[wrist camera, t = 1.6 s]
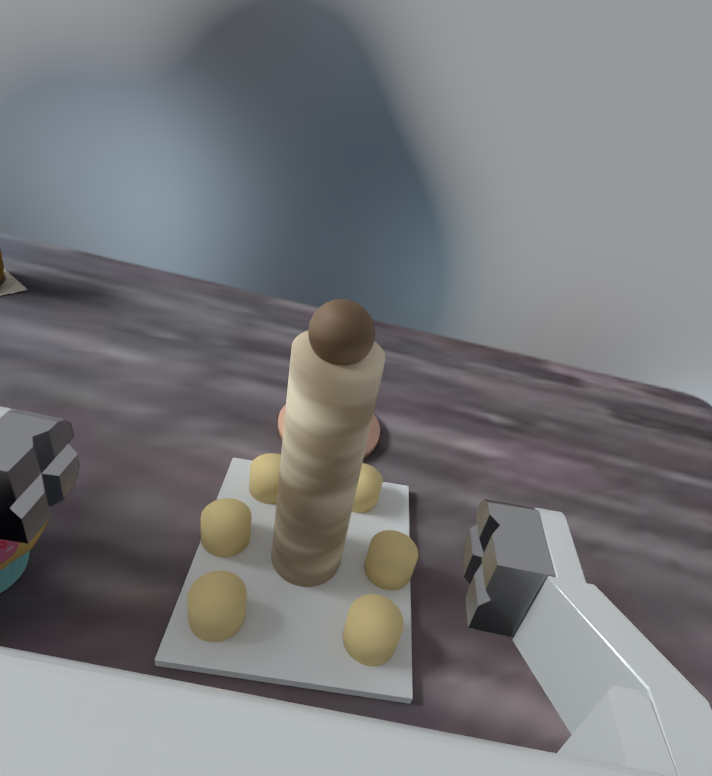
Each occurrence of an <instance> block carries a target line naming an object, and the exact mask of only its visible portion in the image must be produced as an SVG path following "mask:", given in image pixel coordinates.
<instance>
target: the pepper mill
mask: <svg viewBox="0 0 712 776" xmlns="http://www.w3.org/2000/svg"><path fill="white" fill-rule="evenodd" d="M374 340H375V326H374V323H373V320H372V318H371V316H370V314H369V313H368V312H367V310H365V309H364V308H363V307H362V306H361V305H359V304H358V303H356V302H353V301H350V300H344V299H339V300H333V301H330V302H328V303H326V304H324V305H322V306H321V307H320V308H319V309H318V310H317V311H316V312H315V313H314V315H313V317H312V319H311V321H310V324H309V329H308V331H305V332H303V333H301V334H300V335H298V336H297V337H296V338H295V339H294V341H293V343H292V350H291V360H290V370H289V380H288V390H287V401H286V411H285V421H284V431H283V441H282V451H281V462H280V472H279V482H278V492H277V502H276V512H275V523H274V533H273V543H272V553H271V559H272V564H273V567H274V569H275V571H276V572H277V573H278V575H279V576H280V577H282V578H283V579H284V580H285V581H287V582H289V583H291V584H294V585H297V586H302V587H313V586H318V585H321V584H323V583H325V582H327V581H329V580H330V579H331V578H332V577H333V576H334V575H335V574H336V573H337V571H338V569H339V566H340V563H341V558H342V553H343V549H344V544H345V540H346V535H347V531H348V526H349V522H350V517H351V513H352V508H353V504H354V499H355V495H356V490H357V485H358V481H359V476H360V472H361V467H362V463H363V458H364V454H365V449H366V445H367V440H368V436H369V431H370V427H371V422H372V417H373V413H374V408H375V404H376V399H377V395H378V390H379V386H380V381H381V377H382V372H383V368H384V363H385V354H384V351H383V350H382V348H381V347H380V346H379V345H378V344H377V343H376V342H375V341H374Z"/></svg>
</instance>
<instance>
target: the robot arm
mask: <svg viewBox="0 0 712 776" xmlns="http://www.w3.org/2000/svg"><path fill="white" fill-rule="evenodd" d="M73 438H74V433H73V429H72V424H71V423H70V422H68V421H66V420H65V419H60V418H55V417H51V416H46V415H41V414H37V413H32V412H27V411H22V410H18V409H16V410H15V409H10V408H6V407H1V406H0V539H2V540H8V541H14V542H20V543H26V544H29V543H30V541H31V540H32V539H33V538H34V536H35V535H36V534H37V533H38V532H39V530H40V529H41V528H42V527H43V525H44V524H45V523H46V522H47V520H48V519H49V518H50V510H49V507H50V506H52V505H55V504H57V503H59V502H61V501H63V500H64V499H65V498H66V497H67V495H68V494H69V493H70V492H71V490H72V489H73V486H74V484H75V482H76V479H77V477H78V471H79V459H78V454H77V453H76V452H75V451H74V449H73V448H72V447H71V446H70V445H69V444H68V443H69V442H70V441H71V440H72V439H73ZM476 514H477V523H478V524H477V525H475V526H474V527H472V528H470V530H469V533H468V536H467V539H466V542H465V548H464V553H463V573H464V577H465V578H466V580H467V581H468V582H469V584H470V586H469V589H468V591H467V593H466V596H465V599H466V610H467V622H468V628H471V629H475V630H480V631H484V632H489V633H493V634H498V635H503V636H507V637H512V638H513V642H514V643H515V645H516V647H517V648H518V650H519V651H520V653H521V655H522V656H523V658H524V659H525V661H526V663H527V664H528V666H529V667H530V669H531V671H532V672H533V674H534V675H535V677H536V678H537V680H538V682H539V683H540V685H541V686H542V688H543V690H544V691H545V693H546V694H547V696H548V698H549V699H550V701H551V702H552V704H553V706H554V707H555V709H556V710H557V712H558V714H559V715H560V717H561V718H562V720H563V722H564V723H565V725H566V726H567V728H568V730H569V731H570V733H571V734H572V735H571V737H570V738H569V739H568V740H567V742H566V743H565V744H564V745H563V746H562V748H561V749H560V750H559V751H558V753H557V754H556V753H551V752H546V751H541V750H535V749H530V748H525V747H520V746H515V745H509V744H504V743H499V742H494V741H489V740H484V739H478V738H473V737H468V736H463V735H458V734H452V733H447V732H442V731H437V730H432V729H426V728H421V727H416V726H411V725H406V724H400V723H395V722H390V721H385V720H380V719H374V718H369V717H364V716H359V715H354V714H349V713H343V712H338V711H333V710H328V709H323V708H317V707H312V706H307V705H302V704H297V703H291V702H286V701H281V700H276V699H271V698H266V697H260V696H255V695H250V694H245V693H240V692H235V691H229V690H224V689H219V688H214V687H209V686H204V685H198V684H193V683H188V682H183V681H178V680H173V679H168V678H162V677H157V676H152V675H147V674H142V673H137V672H131V671H126V670H121V669H116V668H111V667H105V666H100V665H95V664H90V663H85V662H80V661H74V660H69V659H64V658H59V657H54V656H48V655H43V654H38V653H33V652H28V651H23V650H17V649H12V648H7V647H2V646H0V776H712V710H711V708H710V705H709V703H708V701H707V700H706V699H705V698H704V697H703V696H702V695H701V694H700V693H699V692H698V691H697V690H696V689H695V688H694V687H693V686H692V685H691V684H690V683H689V682H688V681H687V680H686V679H685V678H684V677H683V675H682V674H681V673H680V672H679V671H678V670H677V669H676V668H675V667H674V666H673V665H672V664H671V663H670V662H669V661H668V660H667V659H666V658H665V657H664V656H663V655H662V654H661V653H660V652H659V651H658V650H657V649H656V648H655V647H654V646H653V645H652V644H651V643H650V642H649V640H648V639H647V638H646V637H645V636H644V635H643V634H642V633H641V632H640V631H639V630H638V629H637V628H636V627H635V626H634V625H633V624H632V623H631V622H630V621H629V620H628V619H627V618H626V617H625V616H624V615H623V614H622V613H621V612H620V611H619V610H618V609H617V608H616V607H615V606H614V604H613V603H612V602H611V601H610V600H609V599H608V598H607V597H606V596H605V595H604V594H603V593H602V592H601V591H600V590H599V589H598V588H597V587H596V586H595V585H592V584H588V583H586V580H585V577H584V574H583V571H582V568H581V564H580V561H579V558H578V555H577V552H576V549H575V546H574V542H573V539H572V536H571V533H570V530H569V527H568V524H567V521H566V517H565V516H564V515H563V514H562V512H557V511H551V510H545V509H540V508H532V507H526V506H521V505H515V504H510V503H504V502H499V501H493V500H488V499H483V501H482V502H481V503H480V505H479V508H478V510H477V512H476Z"/></svg>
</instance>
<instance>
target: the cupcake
mask: <svg viewBox="0 0 712 776" xmlns="http://www.w3.org/2000/svg"><path fill="white" fill-rule="evenodd" d="M49 510H50V509H49ZM48 521H49V519H48V520H47V522H46V523H45V524H44V525H43V527H42V528H41V529H40V530H39V532H38V533H37V534H36V535H35V536H34V538H33V539H32V540H31V541H30V543H29V544H26V543H20V542H14V541H8V540H2V539H0V593H2V592H3V591H5V590H6V589H8V588H9V587H10V586H11V585H13V584H14V583H15V582H16V581H17V580H18V579H19V577H20V576H21V575H22V573H23V572H24V570H25V568H26V566H27V563H28V559H29V552H30V550H31V549H32V548H33V547H34V545H35V544H36V542H37V540H38V539H39V537H40V535H41V533H42V532H43V530H44V529H45V527H46V525H47V523H48Z"/></svg>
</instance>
